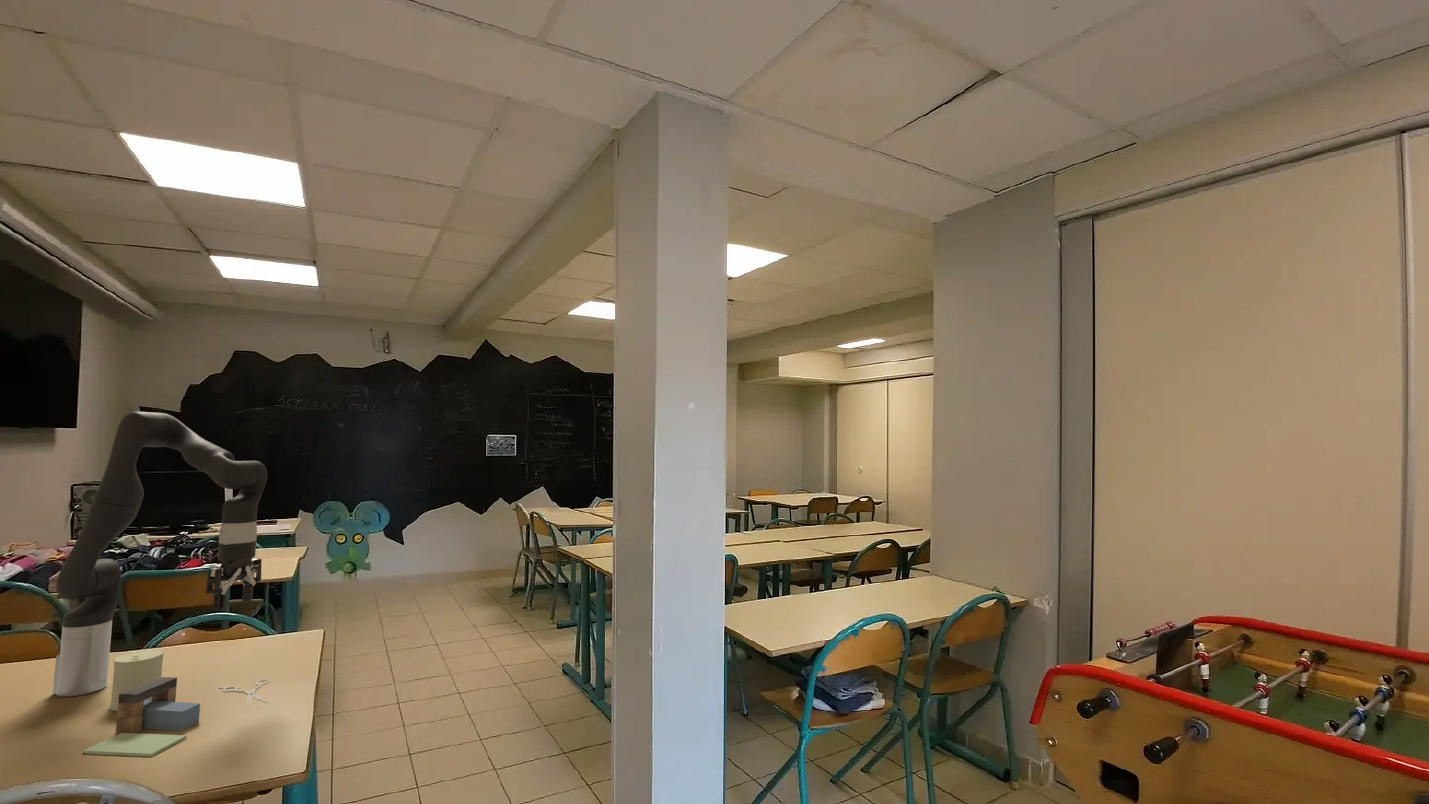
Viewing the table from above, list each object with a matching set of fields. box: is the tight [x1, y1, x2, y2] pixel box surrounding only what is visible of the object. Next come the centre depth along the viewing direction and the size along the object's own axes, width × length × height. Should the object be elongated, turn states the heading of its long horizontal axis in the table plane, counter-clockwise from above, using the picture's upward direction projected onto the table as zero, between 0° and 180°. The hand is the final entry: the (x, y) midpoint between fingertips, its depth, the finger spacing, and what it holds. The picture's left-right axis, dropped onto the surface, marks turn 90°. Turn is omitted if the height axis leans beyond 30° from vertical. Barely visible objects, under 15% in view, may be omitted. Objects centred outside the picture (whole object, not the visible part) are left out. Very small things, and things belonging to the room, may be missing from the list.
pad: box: [82, 732, 187, 758], centre depth 132 cm, size 15×8×1 cm, turn 87°
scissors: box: [218, 678, 270, 708], centre depth 159 cm, size 11×1×20 cm
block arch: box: [115, 676, 178, 734], centre depth 142 cm, size 4×10×8 cm, turn 177°
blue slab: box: [142, 700, 201, 731], centre depth 142 cm, size 14×4×4 cm, turn 84°
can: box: [109, 649, 165, 712], centre depth 153 cm, size 9×9×12 cm
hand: (233, 605), depth 154 cm, fingers open, 8 cm apart
